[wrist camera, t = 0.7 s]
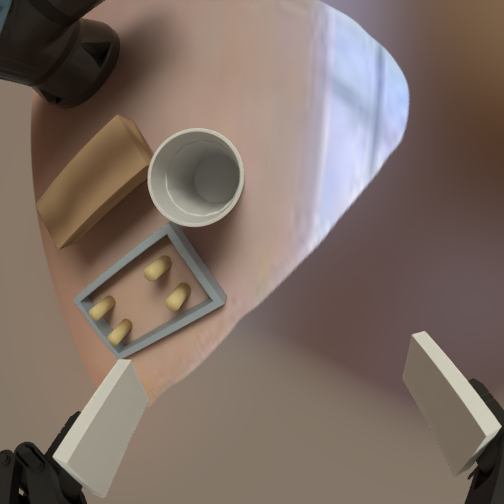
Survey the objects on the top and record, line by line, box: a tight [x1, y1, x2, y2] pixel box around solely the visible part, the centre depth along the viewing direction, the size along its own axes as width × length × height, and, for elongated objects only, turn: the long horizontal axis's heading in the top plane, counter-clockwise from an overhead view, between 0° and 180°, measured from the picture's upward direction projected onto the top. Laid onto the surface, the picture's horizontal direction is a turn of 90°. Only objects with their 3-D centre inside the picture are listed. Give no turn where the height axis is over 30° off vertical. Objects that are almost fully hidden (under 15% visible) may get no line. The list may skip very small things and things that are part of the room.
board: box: [36, 115, 154, 250], centre depth 27 cm, size 7×16×4 cm, turn 123°
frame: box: [73, 221, 227, 360], centre depth 34 cm, size 12×21×5 cm, turn 123°
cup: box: [148, 128, 245, 227], centre depth 26 cm, size 8×8×12 cm
